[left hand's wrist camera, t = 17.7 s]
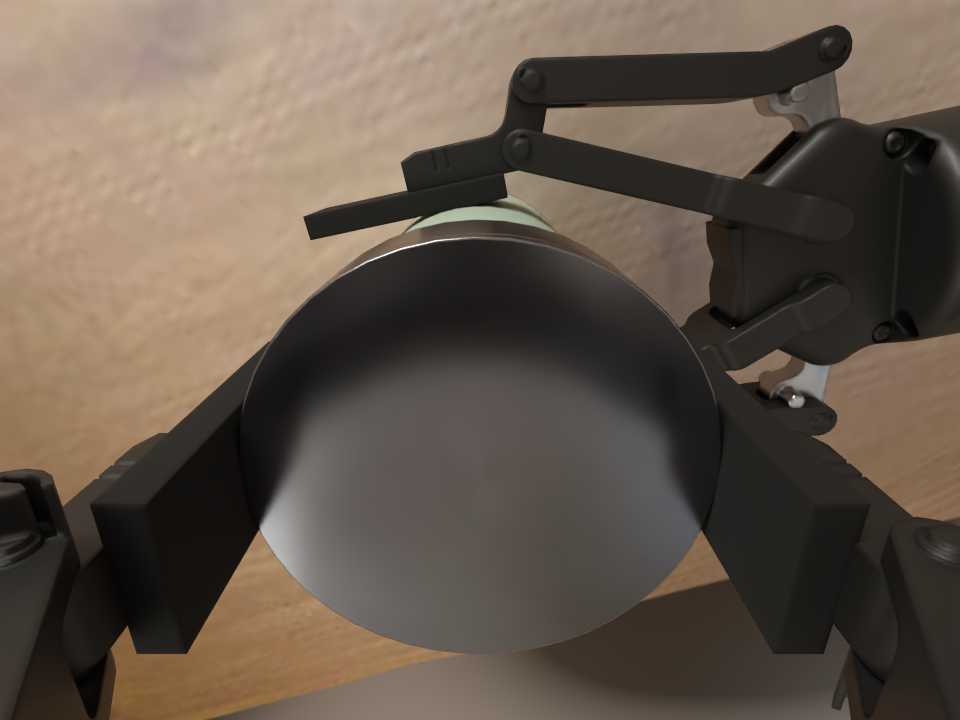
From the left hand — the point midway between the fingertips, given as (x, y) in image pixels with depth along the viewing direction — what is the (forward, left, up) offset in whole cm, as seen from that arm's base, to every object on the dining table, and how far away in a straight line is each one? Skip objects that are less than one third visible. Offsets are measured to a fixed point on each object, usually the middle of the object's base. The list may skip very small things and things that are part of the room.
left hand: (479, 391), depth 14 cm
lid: (0, 0, +4) cm, 4 cm away
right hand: (-5, 0, -7) cm, 8 cm away
